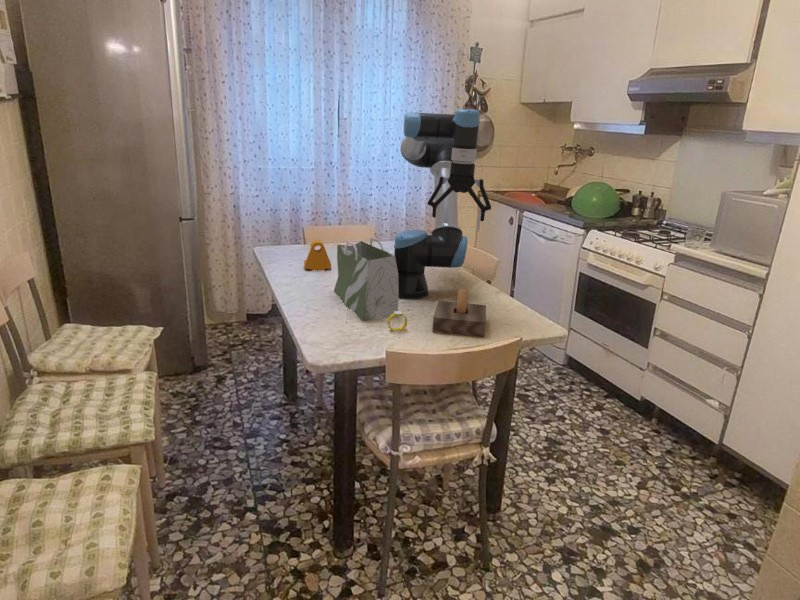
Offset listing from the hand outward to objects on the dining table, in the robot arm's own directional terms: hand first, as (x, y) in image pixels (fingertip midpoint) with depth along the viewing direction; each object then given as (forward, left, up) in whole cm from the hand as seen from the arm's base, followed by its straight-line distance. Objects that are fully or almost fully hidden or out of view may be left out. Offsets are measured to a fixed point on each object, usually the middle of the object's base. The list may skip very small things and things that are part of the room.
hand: (457, 229), depth 172 cm
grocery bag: (-31, 0, -29) cm, 43 cm away
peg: (+4, -11, -29) cm, 31 cm away
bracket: (-59, +38, -29) cm, 76 cm away
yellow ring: (-15, -20, -29) cm, 39 cm away
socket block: (+4, -11, -29) cm, 31 cm away
